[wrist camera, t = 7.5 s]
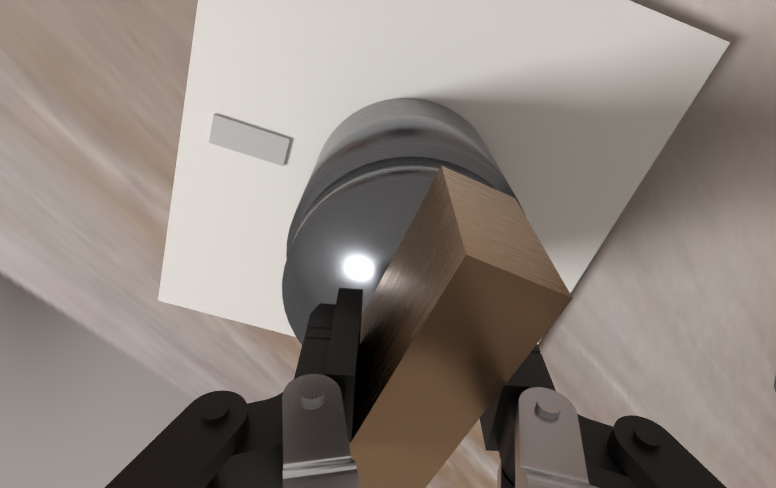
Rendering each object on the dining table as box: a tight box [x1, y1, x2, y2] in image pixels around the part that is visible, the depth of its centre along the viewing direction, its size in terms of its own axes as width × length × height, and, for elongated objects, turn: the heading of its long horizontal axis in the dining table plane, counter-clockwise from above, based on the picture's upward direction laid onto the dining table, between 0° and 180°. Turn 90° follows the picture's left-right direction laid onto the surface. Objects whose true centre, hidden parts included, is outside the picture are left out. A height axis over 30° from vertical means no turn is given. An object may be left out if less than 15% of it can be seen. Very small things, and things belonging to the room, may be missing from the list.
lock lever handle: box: [282, 156, 572, 488], centre depth 14 cm, size 9×8×7 cm
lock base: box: [158, 0, 730, 345], centre depth 21 cm, size 22×22×9 cm
